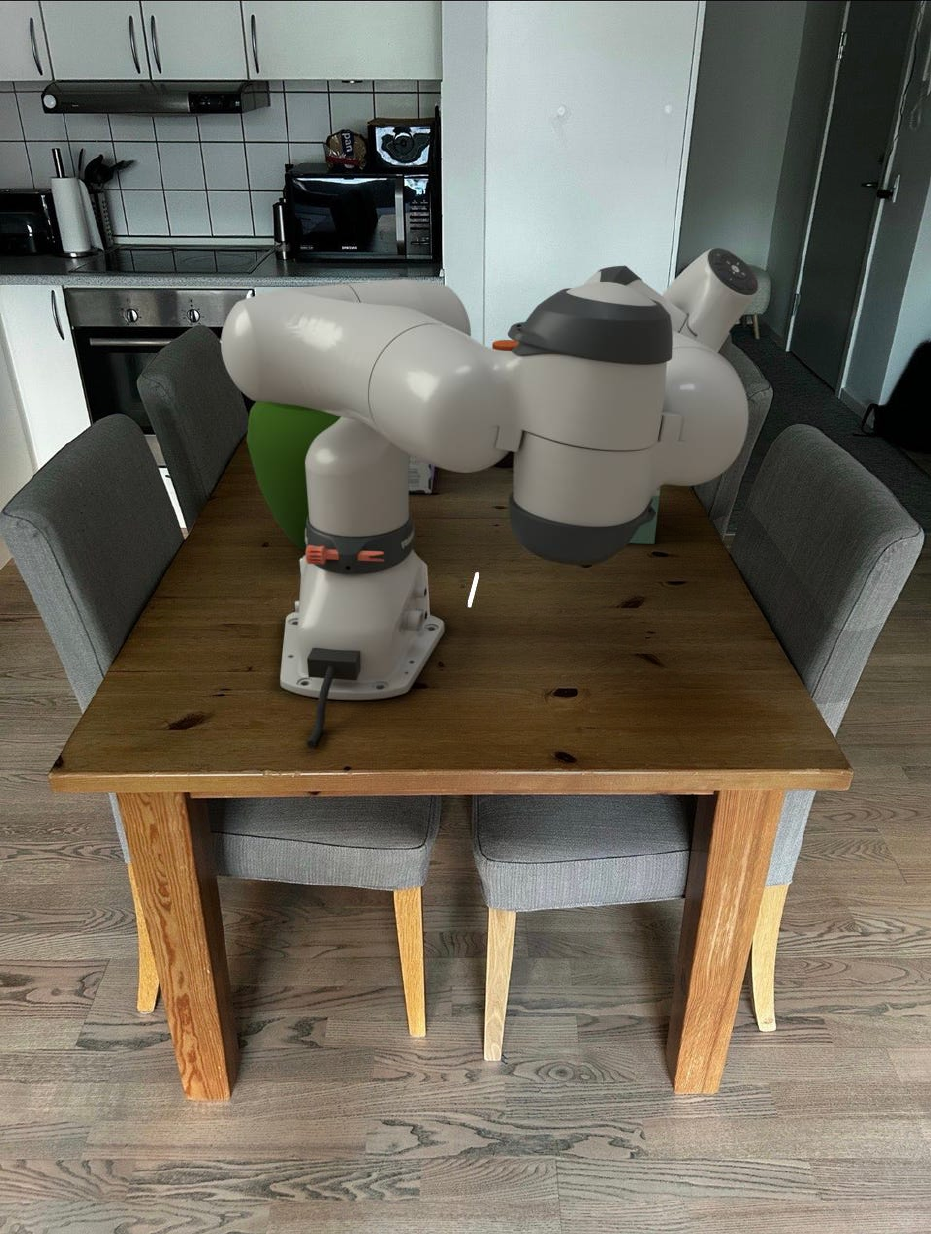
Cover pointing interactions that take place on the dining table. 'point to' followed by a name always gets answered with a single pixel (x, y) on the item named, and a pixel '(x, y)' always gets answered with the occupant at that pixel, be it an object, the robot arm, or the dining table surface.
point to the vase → (285, 459)
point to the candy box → (420, 476)
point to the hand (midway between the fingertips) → (608, 406)
